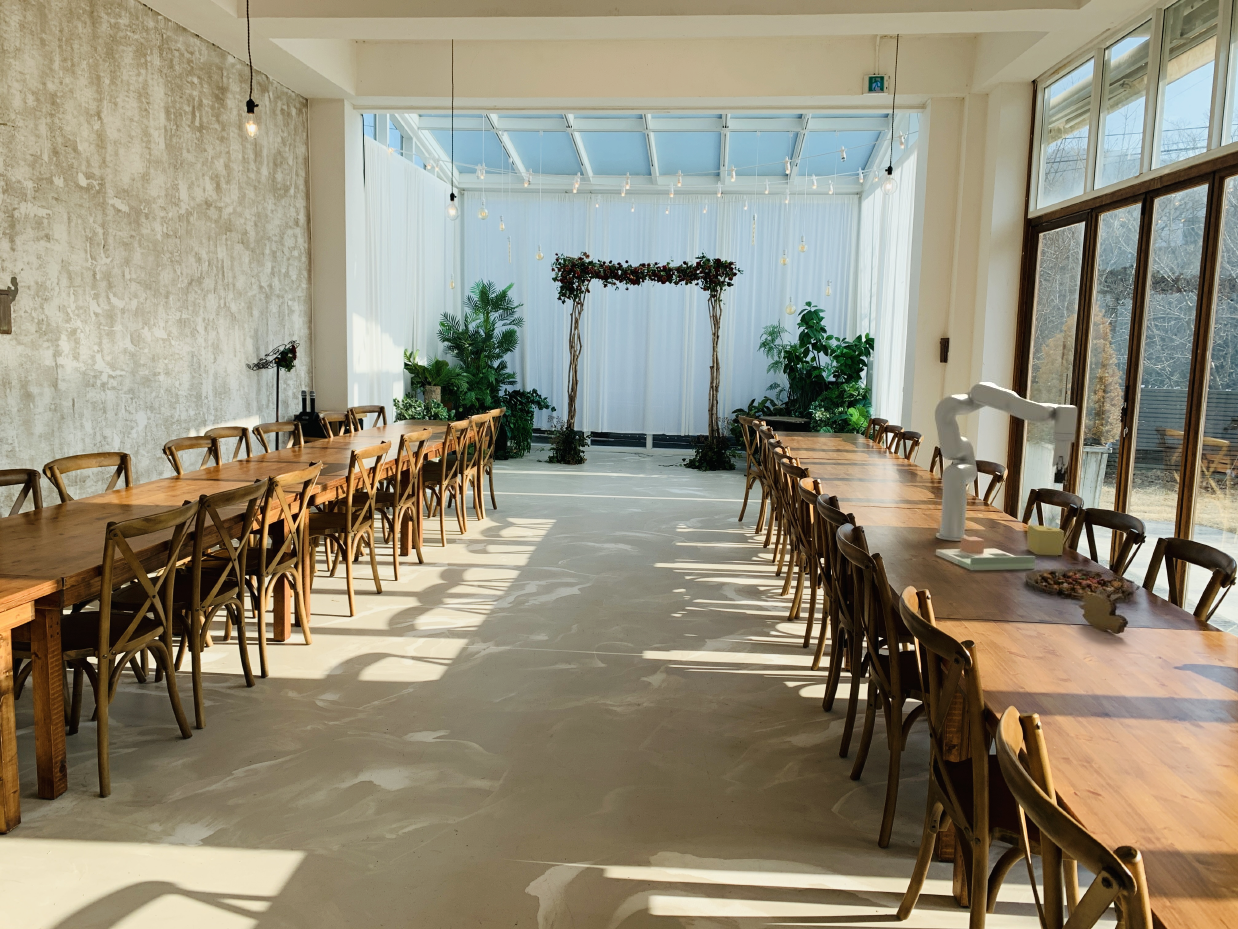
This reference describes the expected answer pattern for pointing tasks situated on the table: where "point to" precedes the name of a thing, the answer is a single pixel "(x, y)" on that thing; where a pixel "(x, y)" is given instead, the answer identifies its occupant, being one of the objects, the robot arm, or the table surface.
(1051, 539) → the cheese
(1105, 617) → the wooden carving
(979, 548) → the block
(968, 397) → the robot arm
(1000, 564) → the board
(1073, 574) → the food dish
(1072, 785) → the table surface
